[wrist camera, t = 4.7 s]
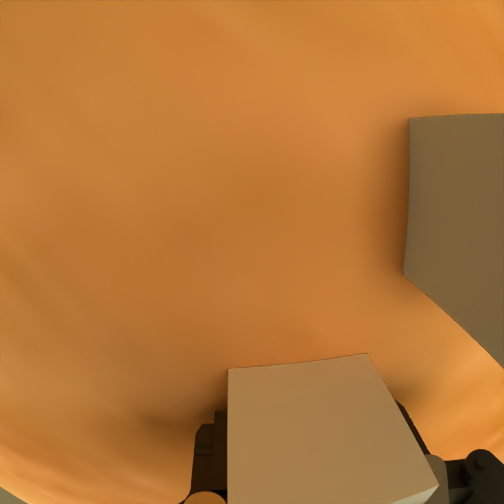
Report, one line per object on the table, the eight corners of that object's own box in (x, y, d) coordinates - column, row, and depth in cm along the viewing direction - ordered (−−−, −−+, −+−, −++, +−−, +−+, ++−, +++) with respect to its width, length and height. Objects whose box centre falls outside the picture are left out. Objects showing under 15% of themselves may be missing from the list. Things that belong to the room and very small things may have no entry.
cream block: (228, 368, 10) (228, 529, 5) (367, 352, 10) (439, 484, 5) (239, 449, 12) (245, 567, 6) (349, 435, 12) (386, 543, 6)
